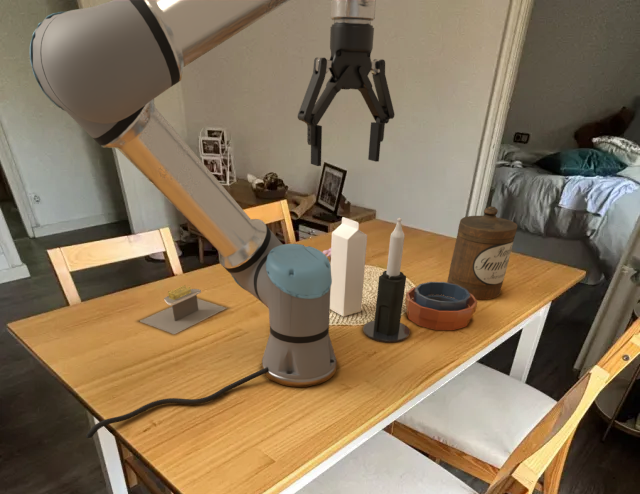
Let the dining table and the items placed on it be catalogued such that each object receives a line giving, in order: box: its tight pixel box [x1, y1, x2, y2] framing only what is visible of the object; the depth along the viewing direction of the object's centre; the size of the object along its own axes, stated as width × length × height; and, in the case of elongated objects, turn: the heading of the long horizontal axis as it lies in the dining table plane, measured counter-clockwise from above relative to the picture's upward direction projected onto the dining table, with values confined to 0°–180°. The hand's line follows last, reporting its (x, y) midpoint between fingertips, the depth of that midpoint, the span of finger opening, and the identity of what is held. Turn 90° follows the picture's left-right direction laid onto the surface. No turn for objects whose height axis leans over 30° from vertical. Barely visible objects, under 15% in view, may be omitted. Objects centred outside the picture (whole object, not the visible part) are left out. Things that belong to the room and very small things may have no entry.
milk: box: [330, 216, 368, 318], centre depth 116 cm, size 6×6×22 cm
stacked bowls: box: [404, 281, 478, 331], centre depth 119 cm, size 17×17×6 cm
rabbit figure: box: [321, 247, 331, 259], centre depth 153 cm, size 6×6×15 cm
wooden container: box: [446, 205, 518, 301], centre depth 129 cm, size 15×15×22 cm
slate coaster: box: [362, 319, 411, 344], centre depth 113 cm, size 11×11×1 cm
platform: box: [139, 284, 227, 335], centre depth 116 cm, size 12×18×7 cm, turn 147°
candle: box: [374, 217, 407, 335], centre depth 105 cm, size 5×5×25 cm
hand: (345, 162), depth 95 cm, fingers open, 13 cm apart
